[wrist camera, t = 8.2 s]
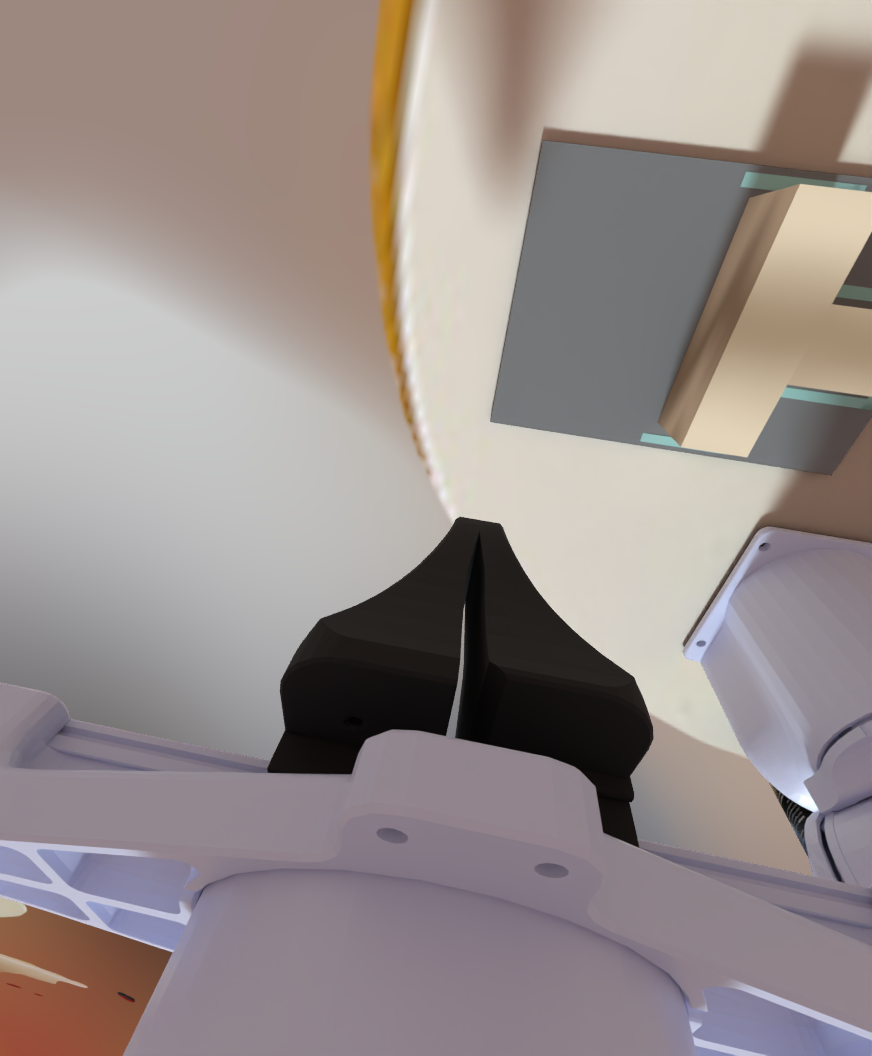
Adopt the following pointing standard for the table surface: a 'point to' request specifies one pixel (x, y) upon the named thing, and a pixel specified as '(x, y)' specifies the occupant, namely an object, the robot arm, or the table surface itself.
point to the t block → (775, 319)
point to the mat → (648, 301)
